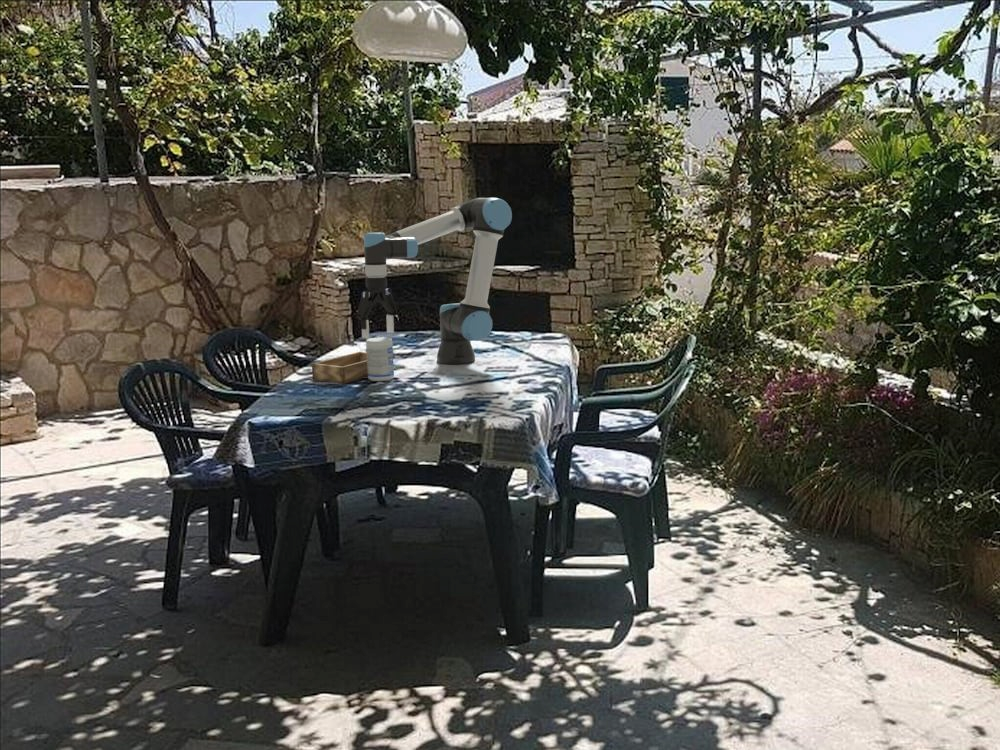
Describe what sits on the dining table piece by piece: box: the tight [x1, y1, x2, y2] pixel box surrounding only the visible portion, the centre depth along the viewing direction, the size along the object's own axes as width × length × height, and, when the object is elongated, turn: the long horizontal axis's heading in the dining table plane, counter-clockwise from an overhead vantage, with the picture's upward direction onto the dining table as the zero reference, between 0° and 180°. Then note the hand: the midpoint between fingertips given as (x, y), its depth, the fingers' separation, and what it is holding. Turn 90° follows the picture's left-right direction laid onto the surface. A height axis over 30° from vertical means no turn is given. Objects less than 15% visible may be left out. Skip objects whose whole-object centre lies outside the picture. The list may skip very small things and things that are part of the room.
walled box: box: [311, 351, 368, 385], centre depth 328 cm, size 15×26×6 cm, turn 147°
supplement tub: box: [365, 336, 395, 382], centre depth 320 cm, size 10×10×15 cm
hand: (378, 335), depth 318 cm, fingers open, 13 cm apart
